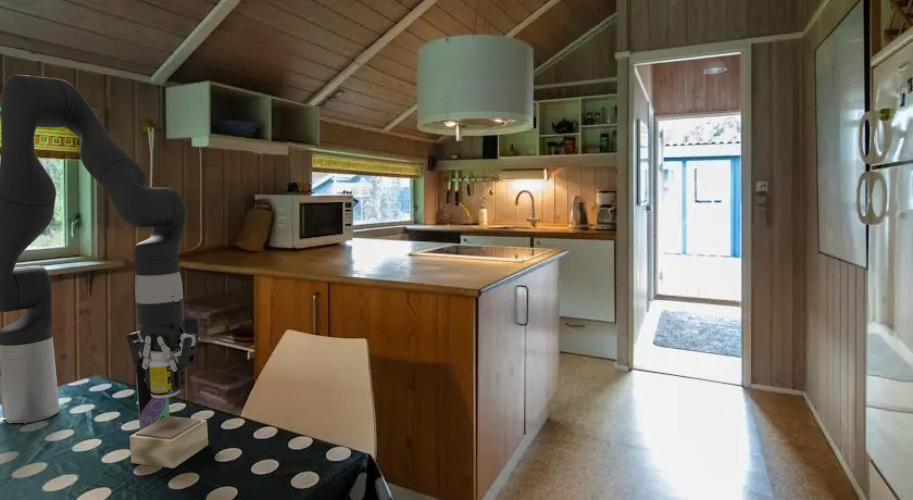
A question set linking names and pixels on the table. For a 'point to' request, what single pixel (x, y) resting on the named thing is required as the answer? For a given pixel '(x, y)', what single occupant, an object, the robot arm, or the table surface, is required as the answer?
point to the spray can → (149, 401)
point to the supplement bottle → (161, 376)
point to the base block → (168, 441)
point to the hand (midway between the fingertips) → (166, 387)
